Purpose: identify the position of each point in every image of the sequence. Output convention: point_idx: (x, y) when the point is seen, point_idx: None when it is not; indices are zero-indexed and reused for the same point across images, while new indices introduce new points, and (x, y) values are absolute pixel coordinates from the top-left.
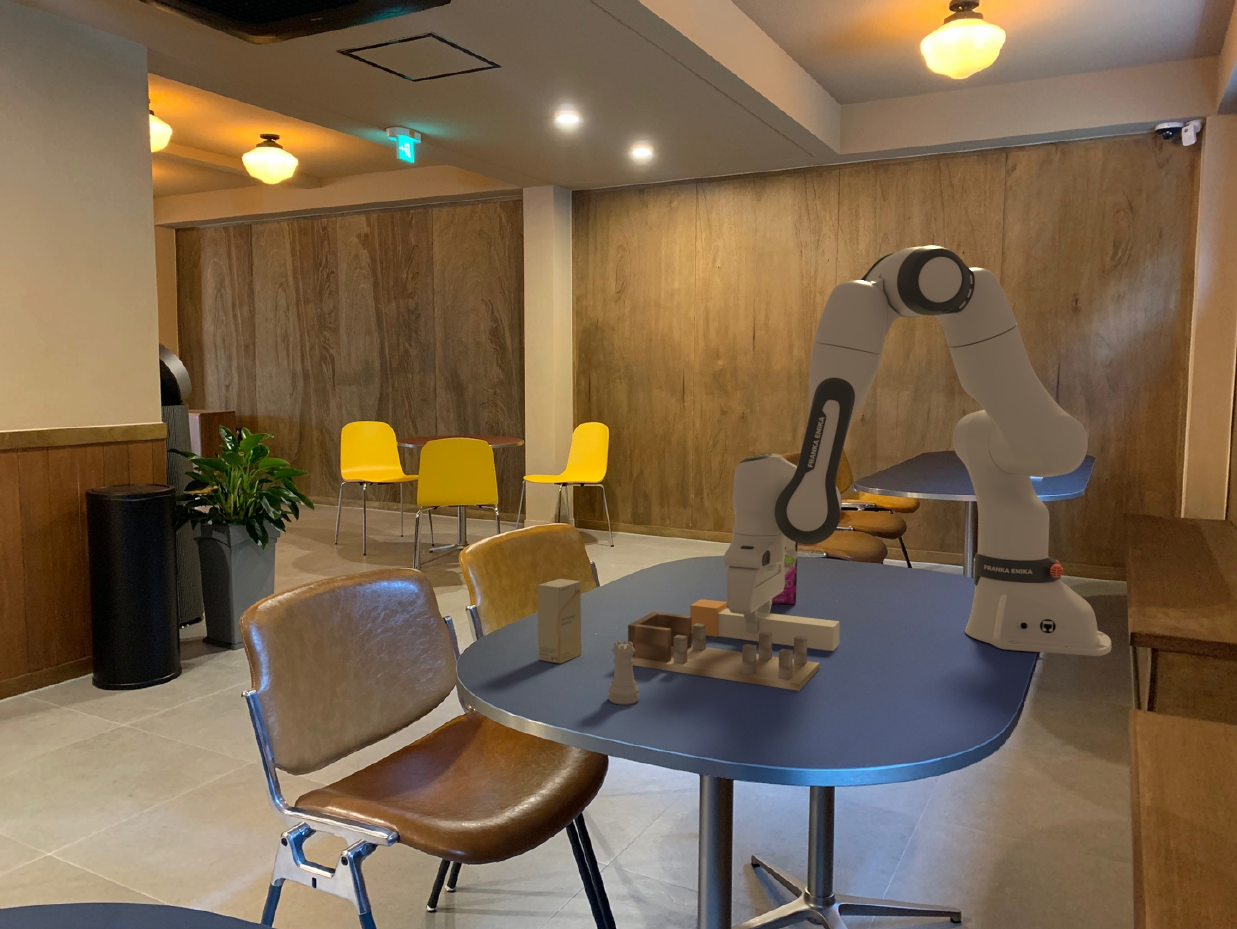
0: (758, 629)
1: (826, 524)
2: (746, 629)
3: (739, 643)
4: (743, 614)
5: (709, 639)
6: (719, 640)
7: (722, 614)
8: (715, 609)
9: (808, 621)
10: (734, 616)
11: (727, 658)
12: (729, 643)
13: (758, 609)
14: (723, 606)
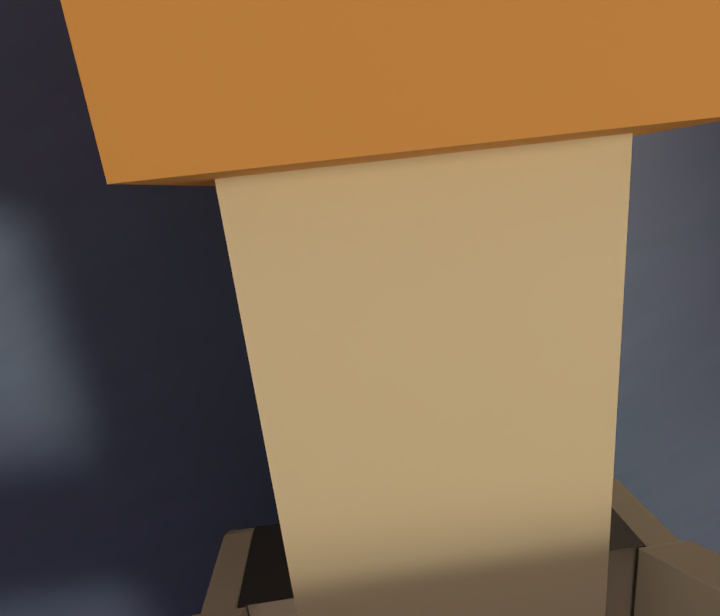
0: None
1: None
2: (224, 543)
3: (181, 439)
4: (385, 531)
5: None
6: (148, 265)
7: (234, 261)
8: (116, 139)
9: None
10: (270, 447)
11: None
12: (126, 377)
13: (704, 581)
14: (519, 140)
